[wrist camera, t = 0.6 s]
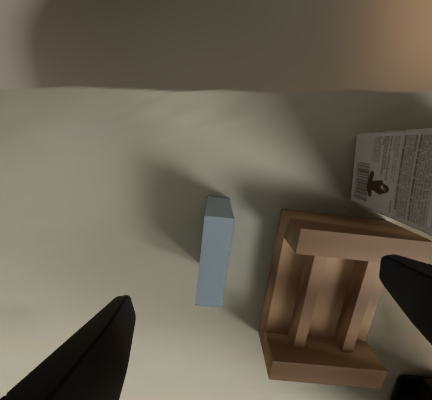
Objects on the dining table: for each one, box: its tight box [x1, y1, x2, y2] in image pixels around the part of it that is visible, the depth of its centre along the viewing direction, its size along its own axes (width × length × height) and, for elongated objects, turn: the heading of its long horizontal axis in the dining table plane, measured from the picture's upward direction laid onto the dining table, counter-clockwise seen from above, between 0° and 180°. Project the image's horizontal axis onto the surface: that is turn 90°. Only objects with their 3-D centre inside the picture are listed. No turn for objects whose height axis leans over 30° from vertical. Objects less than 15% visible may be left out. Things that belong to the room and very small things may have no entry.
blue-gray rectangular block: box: [195, 196, 234, 308], centre depth 19 cm, size 7×2×6 cm, turn 174°
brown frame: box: [259, 209, 432, 389], centre depth 21 cm, size 14×10×5 cm
